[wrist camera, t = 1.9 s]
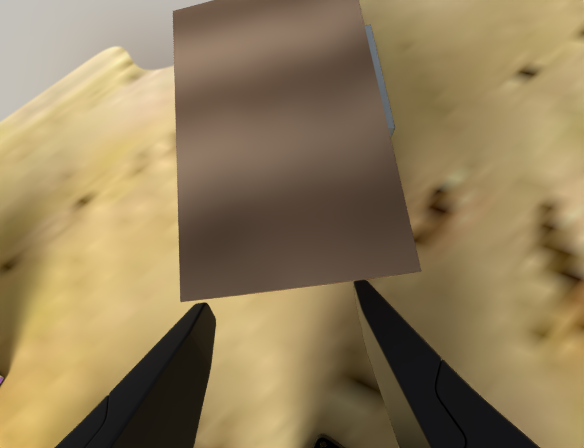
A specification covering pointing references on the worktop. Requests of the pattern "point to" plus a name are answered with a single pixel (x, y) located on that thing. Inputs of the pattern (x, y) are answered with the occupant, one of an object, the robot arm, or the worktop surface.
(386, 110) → the bay rails
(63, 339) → the worktop surface
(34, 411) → the worktop surface
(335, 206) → the walnut box
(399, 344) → the robot arm
